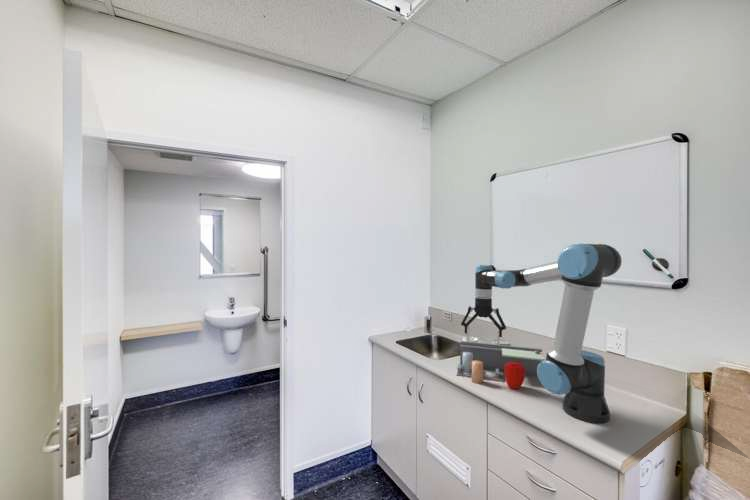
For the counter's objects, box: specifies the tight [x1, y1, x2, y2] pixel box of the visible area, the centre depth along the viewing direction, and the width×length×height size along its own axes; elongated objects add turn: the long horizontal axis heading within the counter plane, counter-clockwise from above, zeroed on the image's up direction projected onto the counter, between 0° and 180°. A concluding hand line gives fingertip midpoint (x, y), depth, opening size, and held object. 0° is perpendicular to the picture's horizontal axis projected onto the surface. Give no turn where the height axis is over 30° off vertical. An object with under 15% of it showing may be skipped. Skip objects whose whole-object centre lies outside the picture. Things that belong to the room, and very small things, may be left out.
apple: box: [503, 362, 526, 390], centre depth 146 cm, size 9×9×11 cm
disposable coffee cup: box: [491, 339, 512, 346], centre depth 176 cm, size 10×10×12 cm
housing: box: [456, 340, 544, 382], centre depth 160 cm, size 17×39×12 cm, turn 70°
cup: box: [462, 336, 483, 343], centre depth 189 cm, size 8×12×10 cm
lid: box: [502, 348, 546, 361], centre depth 156 cm, size 11×18×2 cm, turn 70°
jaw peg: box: [471, 360, 484, 385], centre depth 152 cm, size 5×5×9 cm
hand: (482, 342), depth 154 cm, fingers open, 13 cm apart
